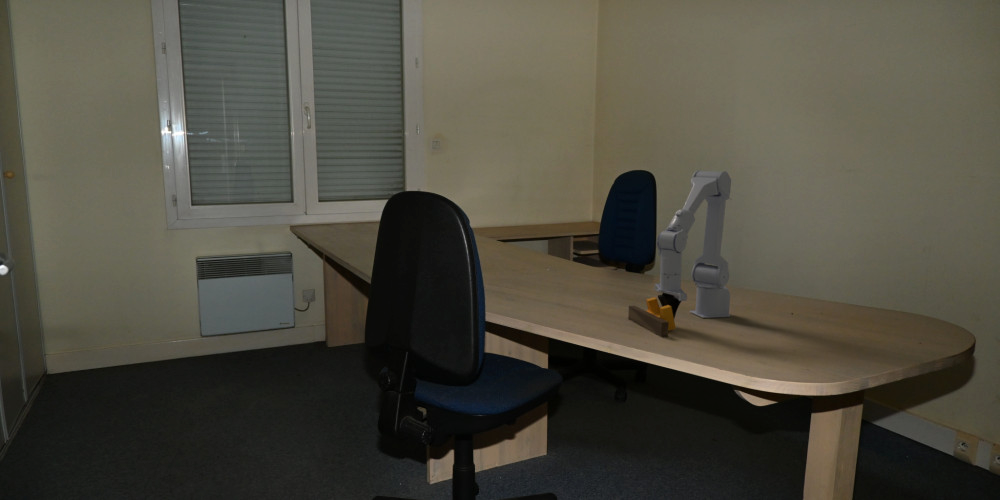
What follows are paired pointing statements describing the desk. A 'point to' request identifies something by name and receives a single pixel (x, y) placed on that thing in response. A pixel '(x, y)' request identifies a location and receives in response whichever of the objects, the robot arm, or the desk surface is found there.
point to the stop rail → (648, 321)
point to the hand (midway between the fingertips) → (669, 320)
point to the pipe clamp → (661, 312)
